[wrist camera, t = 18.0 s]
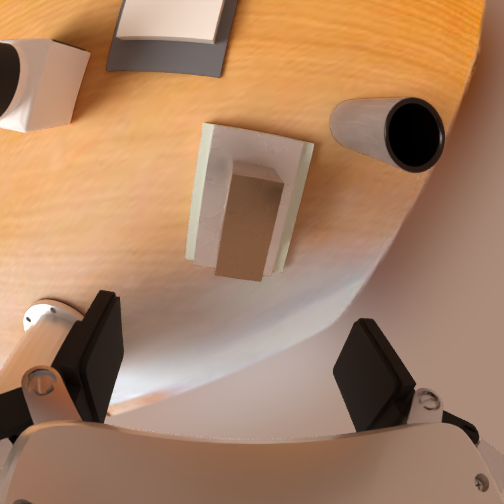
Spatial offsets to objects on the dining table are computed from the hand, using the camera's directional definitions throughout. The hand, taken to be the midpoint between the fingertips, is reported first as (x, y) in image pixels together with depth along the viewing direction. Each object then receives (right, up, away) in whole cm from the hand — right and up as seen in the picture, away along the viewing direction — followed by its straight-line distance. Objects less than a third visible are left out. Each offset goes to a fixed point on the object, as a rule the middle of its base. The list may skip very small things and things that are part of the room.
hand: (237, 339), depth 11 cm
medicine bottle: (-18, +19, +9) cm, 27 cm away
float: (0, +7, +14) cm, 16 cm away
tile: (-6, +20, +7) cm, 22 cm away
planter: (+9, +15, +12) cm, 21 cm away
